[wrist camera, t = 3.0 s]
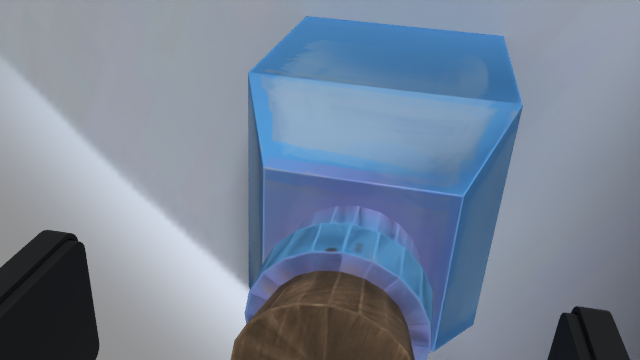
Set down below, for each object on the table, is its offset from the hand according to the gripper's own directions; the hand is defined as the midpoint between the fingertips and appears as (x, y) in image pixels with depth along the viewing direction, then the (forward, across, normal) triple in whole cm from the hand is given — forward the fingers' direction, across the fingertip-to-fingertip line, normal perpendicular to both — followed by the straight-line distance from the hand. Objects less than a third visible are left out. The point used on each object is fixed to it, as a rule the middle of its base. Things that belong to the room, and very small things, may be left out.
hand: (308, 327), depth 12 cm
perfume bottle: (+10, -1, -1) cm, 10 cm away
